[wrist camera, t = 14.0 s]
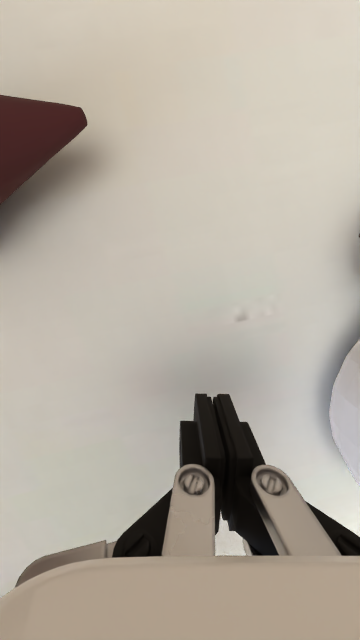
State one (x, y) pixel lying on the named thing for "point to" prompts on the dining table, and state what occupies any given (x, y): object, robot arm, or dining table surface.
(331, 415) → the mug
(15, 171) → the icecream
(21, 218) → the dining table surface
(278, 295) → the dining table surface
